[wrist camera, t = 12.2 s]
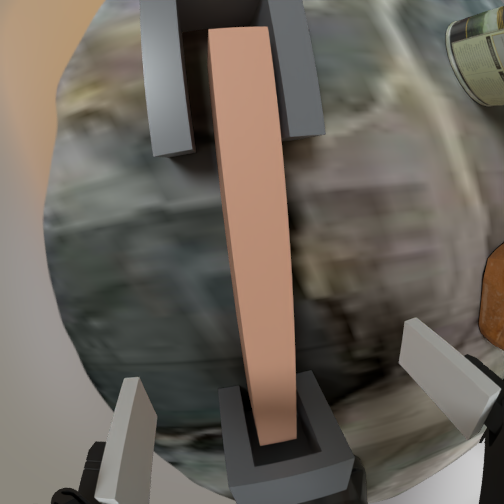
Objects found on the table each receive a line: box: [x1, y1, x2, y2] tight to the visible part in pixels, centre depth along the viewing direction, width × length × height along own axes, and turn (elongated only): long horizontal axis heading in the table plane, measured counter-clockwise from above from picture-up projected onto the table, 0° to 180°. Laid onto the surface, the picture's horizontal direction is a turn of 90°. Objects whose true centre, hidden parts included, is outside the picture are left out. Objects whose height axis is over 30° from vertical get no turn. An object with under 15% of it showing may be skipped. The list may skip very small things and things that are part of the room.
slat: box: [207, 27, 297, 446], centre depth 20 cm, size 28×3×7 cm, turn 6°
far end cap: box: [218, 370, 355, 504], centre depth 22 cm, size 6×9×11 cm, turn 98°
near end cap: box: [140, 0, 325, 158], centre depth 16 cm, size 12×9×6 cm
